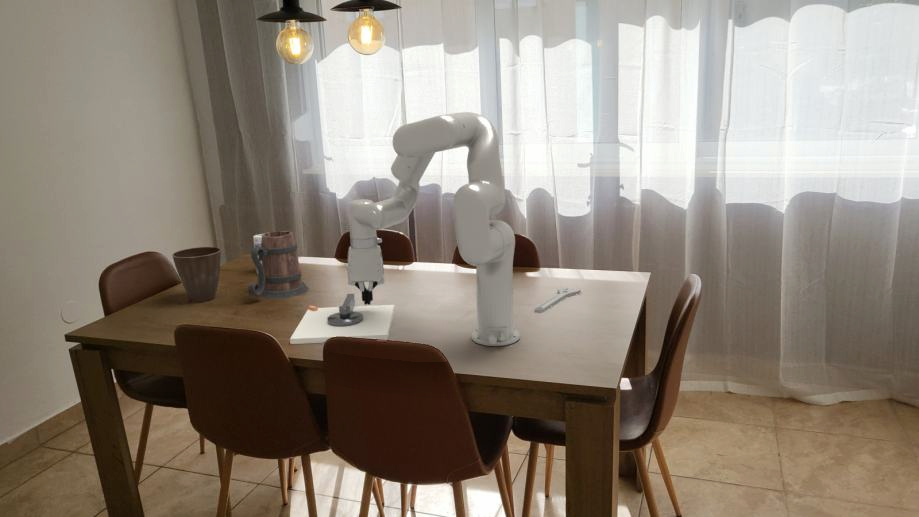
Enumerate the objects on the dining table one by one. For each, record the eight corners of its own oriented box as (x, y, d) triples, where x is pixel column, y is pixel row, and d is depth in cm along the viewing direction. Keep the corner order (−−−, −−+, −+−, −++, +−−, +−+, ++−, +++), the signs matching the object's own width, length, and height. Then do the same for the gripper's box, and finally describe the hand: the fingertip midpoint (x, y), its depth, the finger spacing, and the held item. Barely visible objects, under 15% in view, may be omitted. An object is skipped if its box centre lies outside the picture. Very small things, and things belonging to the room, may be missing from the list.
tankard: (280, 282, 248) (274, 227, 243) (318, 286, 241) (313, 229, 236) (232, 301, 228) (225, 241, 223) (273, 307, 221) (266, 245, 216)
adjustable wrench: (541, 315, 205) (541, 309, 204) (522, 311, 209) (522, 305, 208) (583, 293, 223) (583, 287, 223) (565, 290, 227) (565, 284, 227)
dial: (360, 325, 196) (359, 311, 195) (324, 327, 195) (323, 313, 194) (368, 304, 214) (367, 291, 213) (335, 305, 214) (334, 293, 213)
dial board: (387, 340, 188) (386, 331, 188) (290, 344, 188) (289, 335, 187) (395, 304, 218) (395, 297, 217) (311, 308, 218) (311, 300, 217)
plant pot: (170, 300, 232) (163, 253, 228) (212, 289, 243) (206, 244, 239) (192, 308, 222) (185, 259, 218) (235, 297, 233) (229, 250, 229)
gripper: (390, 239, 206) (394, 298, 210) (339, 240, 206) (344, 300, 210) (388, 244, 199) (392, 306, 203) (335, 246, 198) (340, 308, 203)
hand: (367, 303), depth 207 cm, fingers closed
